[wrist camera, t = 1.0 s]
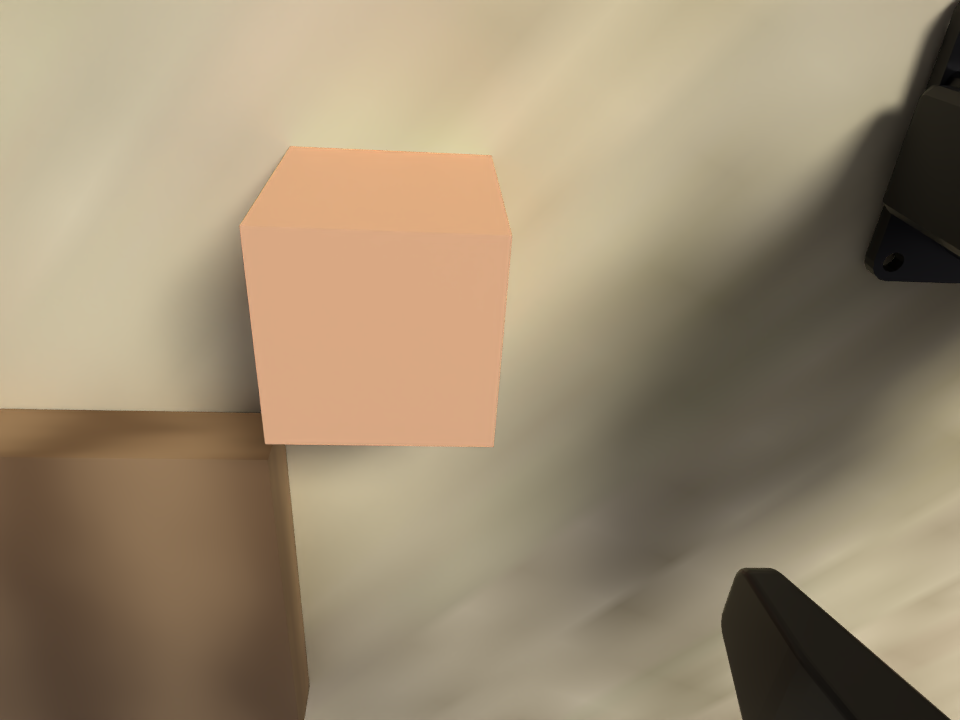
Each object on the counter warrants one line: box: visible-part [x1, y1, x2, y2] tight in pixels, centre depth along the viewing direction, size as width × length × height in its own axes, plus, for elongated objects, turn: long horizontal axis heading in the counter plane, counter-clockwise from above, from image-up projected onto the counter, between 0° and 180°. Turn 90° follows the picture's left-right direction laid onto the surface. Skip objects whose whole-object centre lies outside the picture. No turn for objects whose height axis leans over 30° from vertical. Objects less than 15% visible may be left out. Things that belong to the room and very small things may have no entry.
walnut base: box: [0, 409, 310, 720], centre depth 21 cm, size 12×12×2 cm
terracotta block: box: [239, 146, 512, 447], centre depth 15 cm, size 4×4×5 cm
